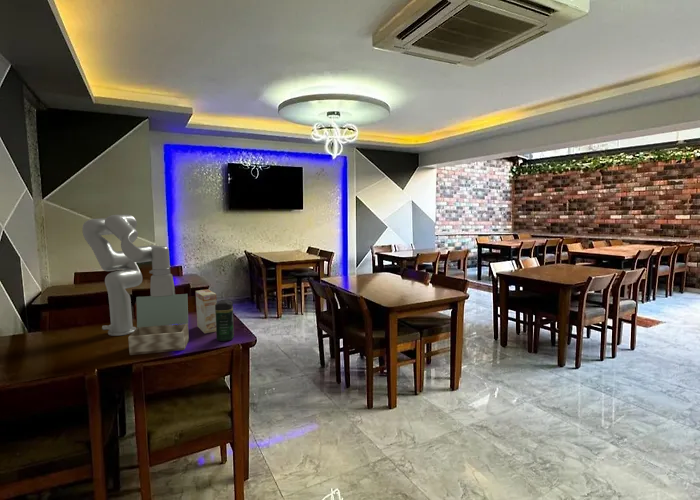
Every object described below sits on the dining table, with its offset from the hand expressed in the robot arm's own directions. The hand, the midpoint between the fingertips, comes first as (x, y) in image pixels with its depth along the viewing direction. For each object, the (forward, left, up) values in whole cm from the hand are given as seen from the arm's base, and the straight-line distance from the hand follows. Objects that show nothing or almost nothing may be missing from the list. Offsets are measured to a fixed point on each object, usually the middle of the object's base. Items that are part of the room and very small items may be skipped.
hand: (164, 310), depth 191 cm
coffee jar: (+28, -8, -15) cm, 32 cm away
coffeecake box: (+18, +11, -15) cm, 26 cm away
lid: (0, -3, +1) cm, 4 cm away
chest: (0, -12, -14) cm, 18 cm away
